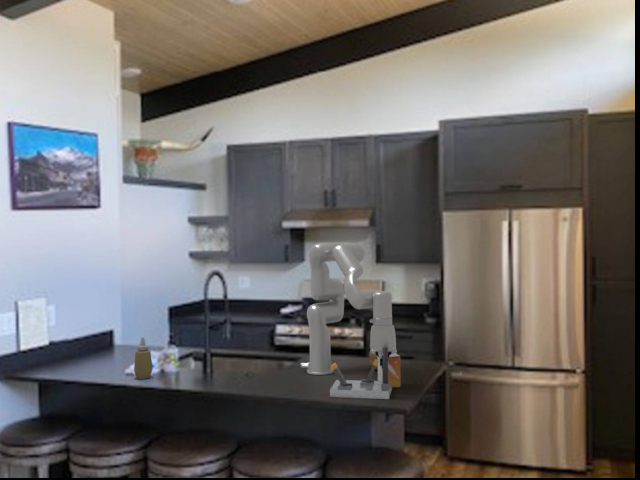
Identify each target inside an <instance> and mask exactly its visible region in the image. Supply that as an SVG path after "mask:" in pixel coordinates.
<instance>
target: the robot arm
mask: <svg viewBox="0 0 640 480" xmlns="http://www.w3.org/2000/svg"><path fill="white" fill-rule="evenodd" d="M365 256H366V255H365V250H364V248H363V246H362V245H361V244H359V243H353V242H346V241H345V242H342V241H341V242H339V241H338V242H320V243H315V244H313V245H312V246H311V247H310V249H309V253H308V261H309V262H308V263H309V266H310V296H311V298H312V299H313V300H315V301H325V300H329V301H327V302H315V303H313V304H310V305H309V306H308V307H307V309H306V310H307V311H306V318H307V322H308V330H309V331H308V332H309V361H308V362H301V363H300V368H303V369H304V368H305V369H306V368H307V369H306V373H307V374H309V375H313V376H324V375H325V376H326V375H331V374H335V373H334V371H333V370H332V368H331V365H332V361H331V359H332V358H331V356H332V355H331V354H332V353H331V351H332V350H331V348H332V347H331V332H330V329H329V327H328V326H327V324H331V323H338V322H341V321H342V319H343V318H344V313H345V312H344V311H345V297H346V299H347V300H348V303H350V305H351V306H352V307H353V308H354V309H356V310H366V309H372V318H370V319H369V323H370V324H373V325H371V328H370V336H369V338H370V339H369V341H370V342H369V347H370V350H369V353H372V354H376V355H377V356H378V357H379V358H380V366H382V369H383V356H382V351H383V347H388V357H389V356H390V355H391V354H395V353H396V354H398V353H397V352H398V351H397V338H396V337H397V336H396V329H395V325H393V305H392V302H393V301H392V293H391V292H390V291H388V290H379V289H362V290H359V289H358V288H357V286H356V285H355V281H356V280H358V279H359V278H361V276H362V275H363V274H364V268H363V266H362V264H361V262H362V261H363V260H364V259H365ZM328 262H335V263H336V264H337V266H338V268H339V269H340V271H341V273H342V274H343V276H344V281H343V282H342V281H341V279H338V278H336V277H335V278H330V267H329V266H328V264H327V263H328Z"/></svg>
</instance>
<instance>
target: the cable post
mask: <svg viewBox="0 0 640 480" xmlns="http://www.w3.org/2000/svg"><path fill="white" fill-rule="evenodd" d="M389 389H390V382H388V347H383V382H382V384H381V390H389Z"/></svg>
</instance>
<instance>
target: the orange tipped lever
mask: <svg viewBox="0 0 640 480" xmlns="http://www.w3.org/2000/svg"><path fill="white" fill-rule="evenodd" d="M331 368H332V370H333V371H334V373H333V374H334V375H335V376H336V378H337V380H339V381H340V383H341V385H342V386H344V385H346V384H347V382H346V380H347V379H345V377H344V375H343V373H342V372H341V370H340V368H339V366H338V364H337V362H334V363H331Z"/></svg>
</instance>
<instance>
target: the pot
mask: <svg viewBox="0 0 640 480" xmlns="http://www.w3.org/2000/svg"><path fill="white" fill-rule="evenodd" d="M382 354H383V351H382ZM368 357H369V360H368V363H369V365H370V367H372V365H373V363H374V361H375V359H376V360H378V356H377V355H376V354H372V353H370V352H369V353H368ZM375 370H377V371H378V364H377V367H376V368H375Z"/></svg>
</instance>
